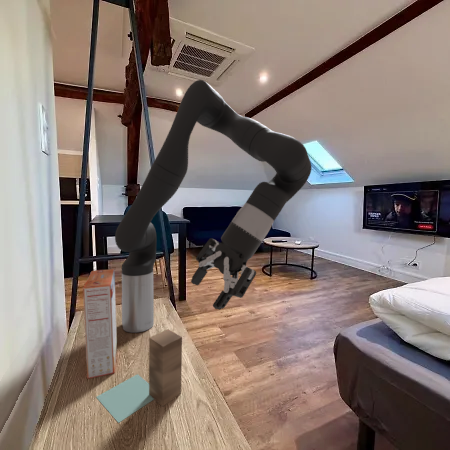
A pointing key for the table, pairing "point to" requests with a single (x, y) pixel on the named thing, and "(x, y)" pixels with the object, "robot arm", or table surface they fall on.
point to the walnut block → (165, 366)
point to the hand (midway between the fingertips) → (204, 295)
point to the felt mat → (126, 397)
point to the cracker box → (100, 323)
